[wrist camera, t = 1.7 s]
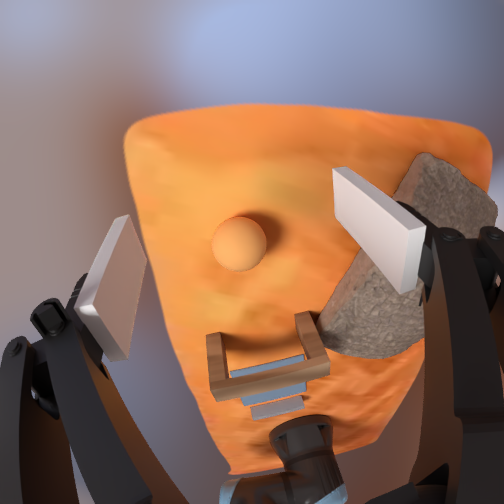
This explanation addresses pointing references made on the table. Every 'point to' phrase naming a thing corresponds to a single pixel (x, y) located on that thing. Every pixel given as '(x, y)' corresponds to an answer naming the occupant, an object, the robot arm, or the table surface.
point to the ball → (239, 244)
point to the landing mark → (274, 393)
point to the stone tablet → (377, 285)
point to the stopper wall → (277, 408)
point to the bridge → (272, 378)
